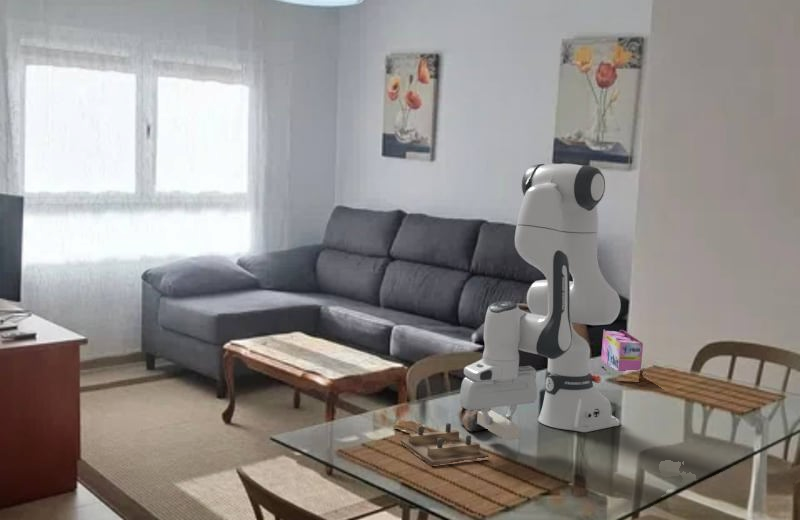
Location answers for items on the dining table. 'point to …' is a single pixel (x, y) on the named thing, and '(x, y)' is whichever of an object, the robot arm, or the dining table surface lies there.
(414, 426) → the shard
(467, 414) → the bison figurine
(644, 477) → the dining table surface
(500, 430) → the clay strip
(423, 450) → the walnut rack
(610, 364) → the gum box
